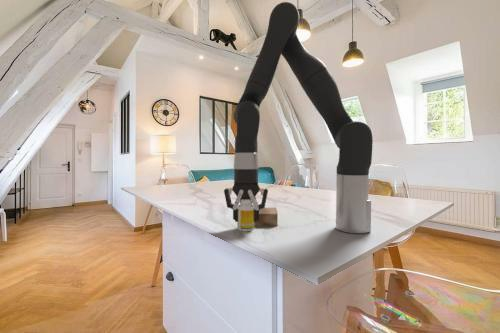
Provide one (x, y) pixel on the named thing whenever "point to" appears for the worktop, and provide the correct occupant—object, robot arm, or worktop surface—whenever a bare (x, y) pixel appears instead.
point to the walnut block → (267, 217)
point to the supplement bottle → (246, 215)
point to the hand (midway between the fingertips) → (246, 221)
